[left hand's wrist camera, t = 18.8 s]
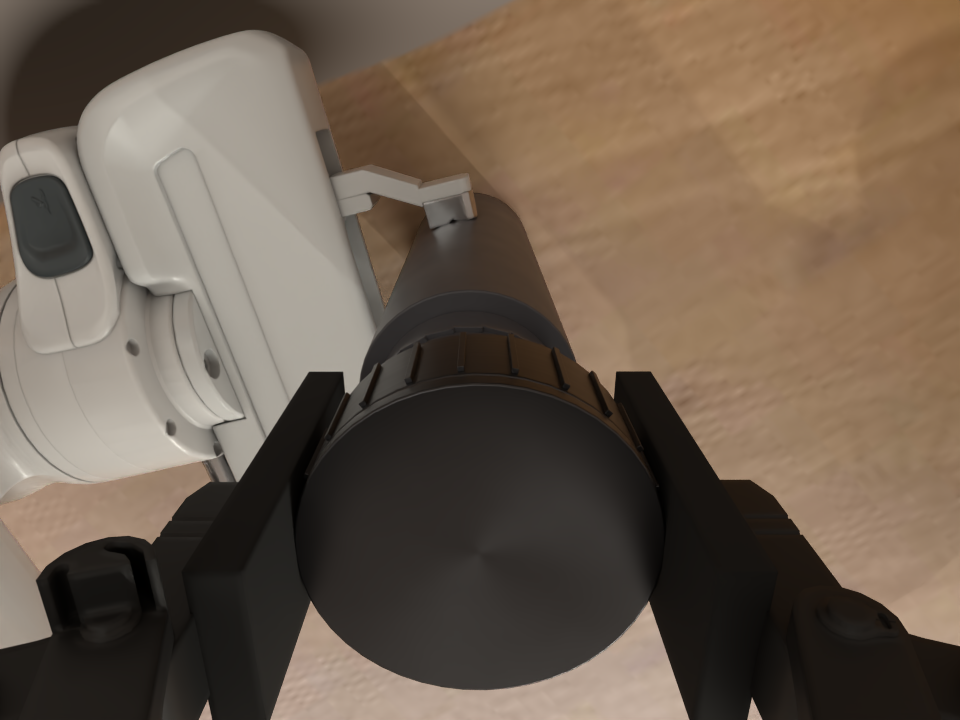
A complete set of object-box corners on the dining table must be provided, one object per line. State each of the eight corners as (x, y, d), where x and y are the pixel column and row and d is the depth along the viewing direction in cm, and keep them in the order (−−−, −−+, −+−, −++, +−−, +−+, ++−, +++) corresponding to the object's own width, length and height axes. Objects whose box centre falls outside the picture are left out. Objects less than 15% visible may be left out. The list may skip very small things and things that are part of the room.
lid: (361, 621, 14) (340, 713, 12) (282, 357, 12) (239, 412, 10) (649, 584, 13) (679, 671, 11) (624, 303, 11) (658, 348, 9)
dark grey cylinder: (491, 170, 29) (517, 267, 12) (548, 269, 31) (637, 473, 14) (393, 231, 30) (291, 398, 13) (453, 323, 32) (430, 576, 15)
